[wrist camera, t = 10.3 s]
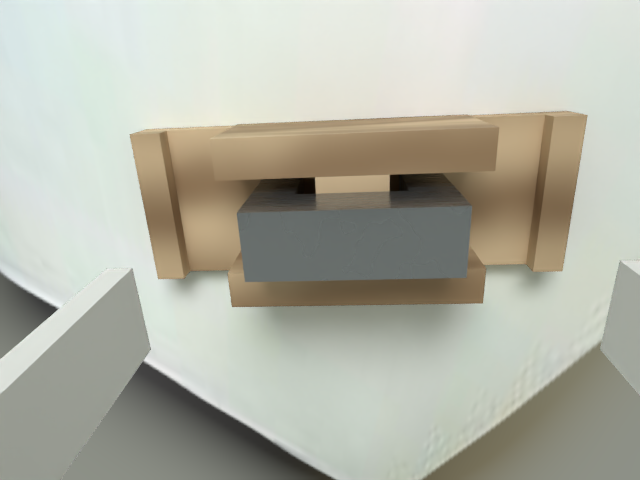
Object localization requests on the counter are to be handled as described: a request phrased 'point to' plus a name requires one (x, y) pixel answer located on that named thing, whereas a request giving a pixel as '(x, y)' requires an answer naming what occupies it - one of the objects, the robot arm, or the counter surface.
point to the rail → (363, 176)
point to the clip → (355, 232)
